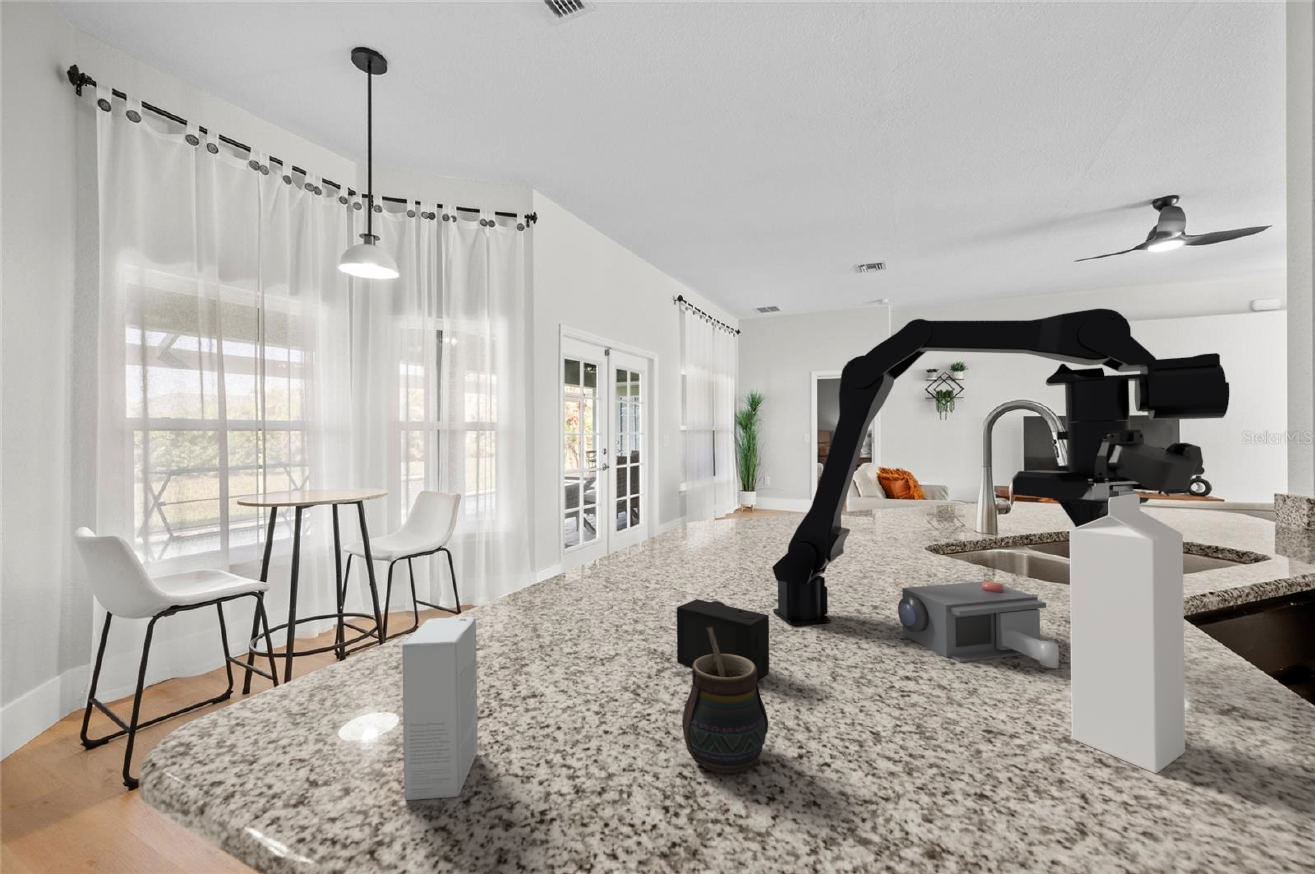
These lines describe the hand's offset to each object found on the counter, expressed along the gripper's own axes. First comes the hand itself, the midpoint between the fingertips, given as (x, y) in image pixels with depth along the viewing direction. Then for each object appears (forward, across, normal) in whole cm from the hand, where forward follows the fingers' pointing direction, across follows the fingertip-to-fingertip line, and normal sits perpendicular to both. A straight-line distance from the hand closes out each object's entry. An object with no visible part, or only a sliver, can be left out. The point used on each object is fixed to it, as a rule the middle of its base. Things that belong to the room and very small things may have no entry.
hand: (1100, 557), depth 62 cm
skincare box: (+13, -71, -2) cm, 72 cm away
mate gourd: (+13, -48, -5) cm, 50 cm away
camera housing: (+13, -8, +11) cm, 19 cm away
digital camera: (+13, -41, +12) cm, 45 cm away
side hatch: (+13, -4, +4) cm, 14 cm away
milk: (+14, -13, -12) cm, 22 cm away
